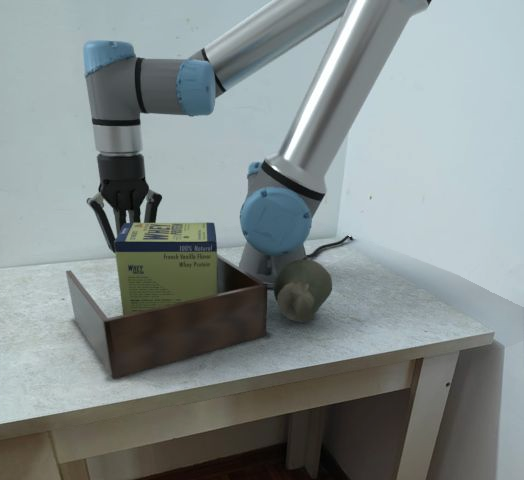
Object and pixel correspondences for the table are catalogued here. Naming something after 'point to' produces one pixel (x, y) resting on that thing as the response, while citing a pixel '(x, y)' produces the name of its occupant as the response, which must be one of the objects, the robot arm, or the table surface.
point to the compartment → (174, 323)
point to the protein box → (165, 263)
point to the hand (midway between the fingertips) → (135, 285)
